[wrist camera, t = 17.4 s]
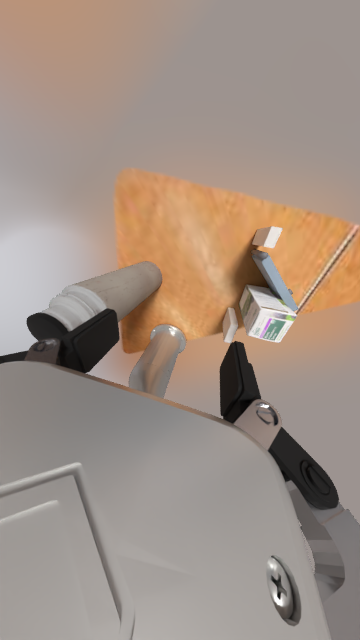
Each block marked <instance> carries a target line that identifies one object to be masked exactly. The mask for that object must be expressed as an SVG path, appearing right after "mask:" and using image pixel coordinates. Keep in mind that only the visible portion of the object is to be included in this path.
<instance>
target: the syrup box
mask: <svg viewBox="0 0 360 640" xmlns="http://www.w3.org/2000/svg"><path fill="white" fill-rule="evenodd" d="M239 308H240V311H241V315H242V319H243V322H244V326H245V329H246V333H247V335H248V336H252V337H256V338H260V339H264V340H268V341H273V342H279V343H280V341H281V340H282V338H283V337H284V335H285V334H286V332H287V331H288V329H289V327H290V326H291V324H292V323H293V321H294V320H295V318H296V317H297V315H296V314H295V313H294V312H293V311H292V310H291V309H290V308H289V307H288V306H287V305H286V304H285V303H284V302H283V301H282V300H281V299H280V298H279V297H278V296H277V295H276V294H275V293H274V292H273V291H272V290H271V289H270V288H265V287H259V286H253V285H246V286H245V289H244V292H243V294H242V297H241V300H240V302H239Z"/></svg>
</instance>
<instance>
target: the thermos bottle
mask: <svg viewBox="0 0 360 640" xmlns="http://www.w3.org/2000/svg"><path fill="white" fill-rule="evenodd" d="M161 283H162V274H161V271H160V269H159V268H158V267H157V266H156V265H155V264H154V263H152V262H148V261H145V262H141V263H138V264H135V265H132V266H129V267H125V268H122V269H119V270H116V271H113V272H110V273H107V274H104V275H101V276H98V277H95V278H92V279H89V280H85V281H83V282H79V283H76V284H73V285H70V286H68V287H66V288H65V289H64V290H63V291H62V293H61V294H59V295H57V296H56V297H55V298H53V299H52V300H51V301H50V304H49V308H48V309H46V310H44V311H42V312H41V313H36V314H33V315H31V316H29V317H28V318H27V326H28V329H29V331H30V332H31V334H32V335H33V336H34V337H35V338H36V339H37V340H38V341H40V340H43V339H47V338H56V339H59V340H60V341H61V340H63V339H62V336H64V335H65V334H67V333H69V332H70V331H72V330H73V329H75V328H76V327H78V326H80V325H81V324H83V323H84V322H86V321H87V320H89V319H90V318H92V317H94V316H95V315H97V314H98V313H100V312H101V311H103V310H105V309H106V308H109V309H113V310H115V312H116V313H117V319H118V322H119V321H120V320H122V319H123V318H124V317H125V316H126V315H127V314H129V313H130V312H131V311H132V310H133V309H134V308H136V307H137V306H138V305H139V304H140V303H141V302H143V301H144V300H145V299H146V298H147V297H148V296H150V295H151V294H152V293H153V292H154V291H155V290H157V289H158V288H159V287H160V285H161Z"/></svg>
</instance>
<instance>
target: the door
mask: <svg viewBox="0 0 360 640" xmlns="http://www.w3.org/2000/svg"><path fill="white" fill-rule="evenodd" d="M251 254H253V255H252V258H253V260H254V261H255V263H256V265H257V267H258V268H259V270H260V272H261V273H262V275H263V277H264V279H265V280H266V282H267V284H268V285H269V287H270V289H271V290H272V291H273V292H274V293H275V294H276V295H277V296H278V297H279V298H280V299H281V300H282V301H283V302H284V303H285V304H286V305H287V306H288V307H289V308H290V309H291V310H292V311H295V310H298V307H297V306H296V304H295V302H294V300H293V298H292V296H291V294H293V292H292V291H291V290H290V289H287V287H286V285H285V283H284V282H283V280H282V278H281V276H280V274H279V272H278V271H277V269H276V267H275V265H274V263H273V261H272V260H271V258H270V256H269V255H268V253H266V252H262V251H259V250H256V249H253V250H251Z"/></svg>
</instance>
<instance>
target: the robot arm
mask: <svg viewBox="0 0 360 640" xmlns="http://www.w3.org/2000/svg"><path fill="white" fill-rule="evenodd" d="M62 339H63V340H61V341H60V340H59V339H56V338H47V339H43V340H40V341H38V342H36V343H34V344H33V345H32V346H31V347H30V349H29V350H28V351H24V352H18V353H14V354H9V355H5V356H0V640H360V525H359V523H358V522H357V521H356V519H355V518H354V516H353V515H352V514H351V512H350V511H349V510H348V509H344V508H343V507H342V505H341V504H340V502H339V498H338V494H337V490H336V488H335V486H334V484H333V482H332V480H331V479H330V477H329V476H328V475H327V474H326V472H325V471H324V470H323V469H322V468H321V467H320V466H319V465H318V463H317V462H315V460H314V459H313V458H312V457H311V456H310V455H309V454H308V453H307V452H306V451H305V450H304V449H303V448H302V447H301V446H300V445H299V444H298V443H297V442H296V441H295V440H294V439H293V438H292V437H291V436H290V435H289V434H288V433H287V432H286V431H285V430H284V429H283V428H282V427H281V425H282V420H281V417H280V415H279V413H278V411H277V410H276V409H275V408H274V407H273V406H272V405H271V404H270V403H268V402H266V401H264V400H261V396H260V393H259V389H258V385H257V382H256V378H255V374H254V371H253V367H252V365H251V364H250V363H248V360H247V356H246V352H245V348H244V344H243V343H241V342H237V341H235V342H234V343H233V342H232V343H231V344H230V346H229V349H228V351H227V353H226V355H225V357H224V360H223V362H222V364H221V366H220V407H221V416H223V419H221V418H218V417H216V416H213V415H211V414H207V413H205V412H202V411H199V410H196V409H193V408H190V407H188V406H184V405H181V404H178V403H175V402H172V401H169V400H166V399H163V398H164V395H165V391H166V388H167V385H168V382H169V379H170V376H171V373H172V370H173V367H174V364H175V361H176V358H177V355H178V354H179V353H181V352H182V351H183V350H184V349H185V346H186V337H185V335H184V334H183V332H182V331H181V330H180V329H179V328H177V327H175V326H173V325H170V324H161V325H158V326H156V327H155V328H154V329H153V330H152V332H151V335H150V339H151V342H150V343H149V345H148V347H147V348H146V350H145V351H144V353H143V354H142V356H141V357H140V359H139V361H138V362H137V364H136V366H135V367H134V369H133V370H132V372H131V374H130V377H129V387H126V386H123V385H120V384H116V383H114V382H110V381H107V380H104V379H101V378H97V377H95V376H91V375H88V374H85V373H86V372H89V371H90V370H91V369H92V368H93V367H94V366H95V365H96V364H97V363H98V362H99V361H100V360H101V359H102V358H103V357H104V356H105V355H106V354H107V352H108V351H109V350H110V349H111V348H112V347H113V346H114V345H115V344H116V343H117V342H118V341H119V328H118V319H117V313H116V312H115V310H113V309H109V308H106V309H105V310H103V311H101V312H100V313H98V314H97V315H95V316H94V317H92V318H90V319H89V320H87V321H86V322H84V323H83V324H81V325H80V326H78V327H76V328H75V329H73V330H72V331H70V332H69V333H67V334H65V335H64V336H62ZM298 520H299V521H300V523H301V525H302V526H301V527H300V525H299V521H298ZM301 530H302V531H301ZM302 532H303V534H304V535H305V537H306V539H307V541H308V543H309V546H310V548H311V550H312V553H313V558H314V561H315V574H314V573H313V570H312V566H311V563H310V559H309V556H308V552H307V549H306V545H305V542H304V538H303V535H302Z"/></svg>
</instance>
